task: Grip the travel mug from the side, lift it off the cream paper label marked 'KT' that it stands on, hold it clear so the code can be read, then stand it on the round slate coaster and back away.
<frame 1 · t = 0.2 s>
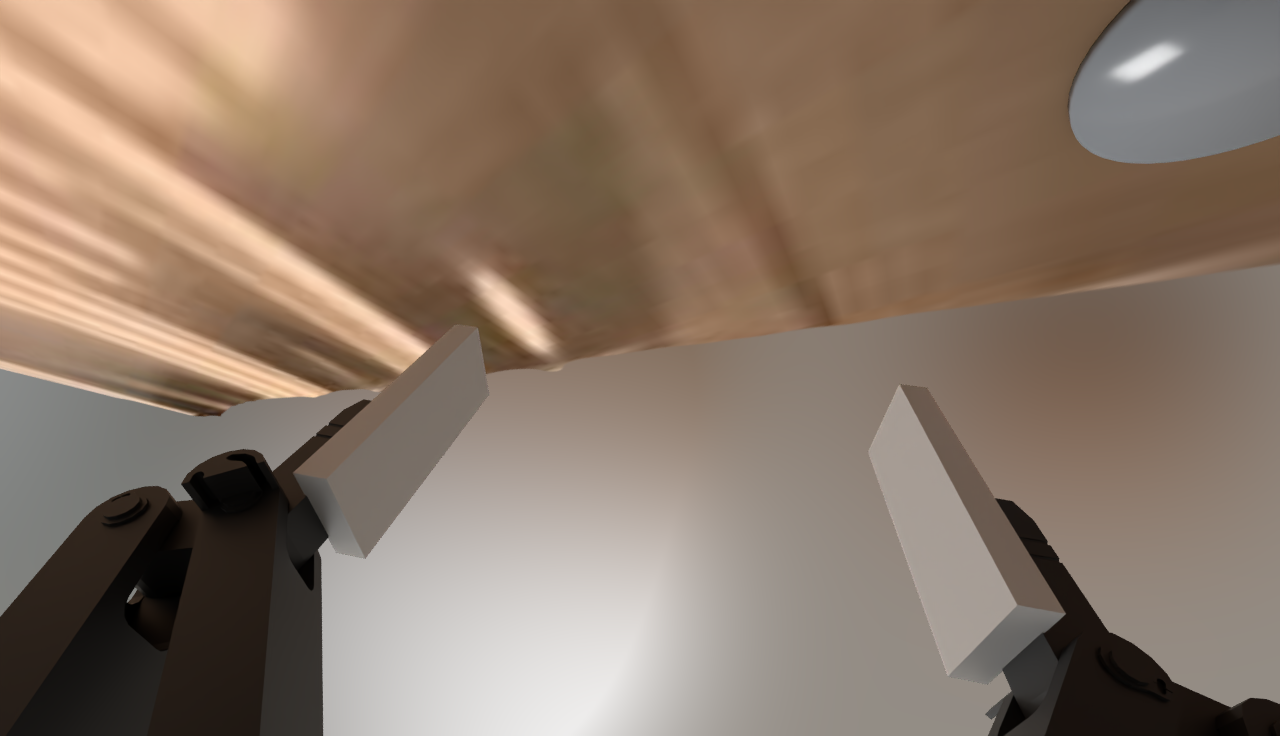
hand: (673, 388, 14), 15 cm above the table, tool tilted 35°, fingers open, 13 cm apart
slate coaster: (1265, 34, 16), on the table
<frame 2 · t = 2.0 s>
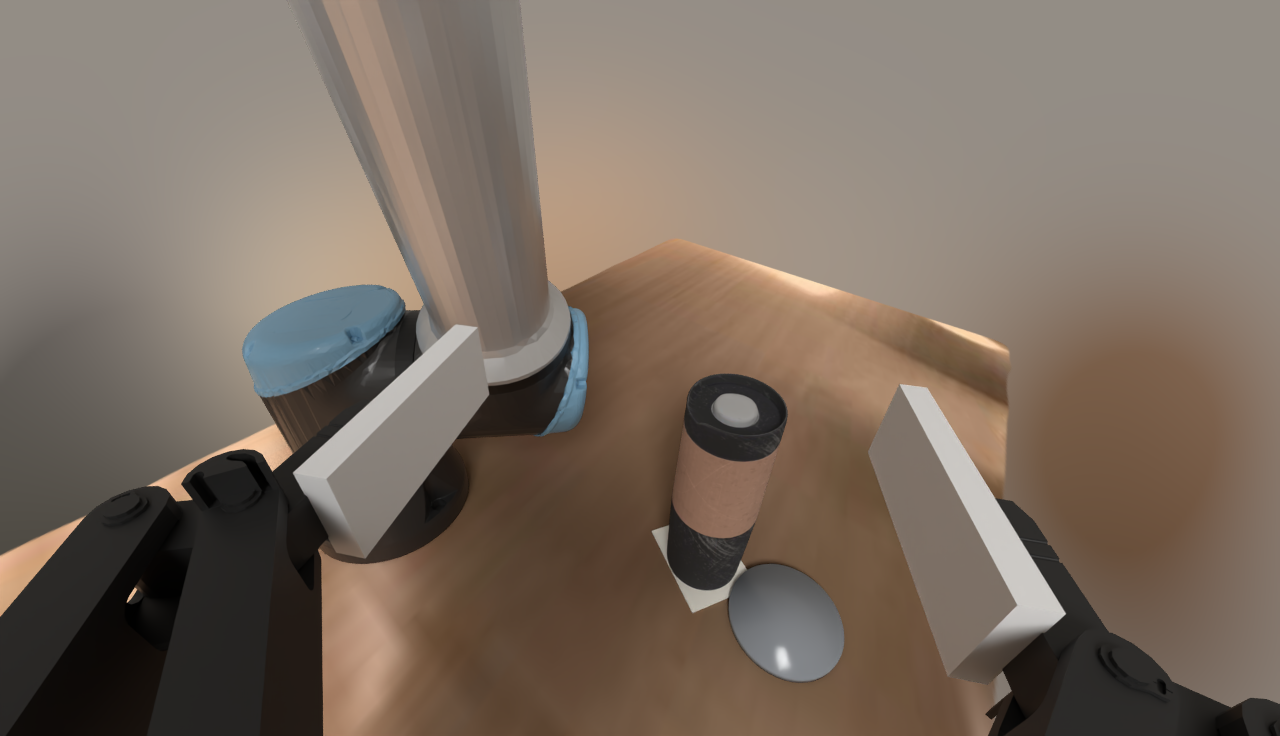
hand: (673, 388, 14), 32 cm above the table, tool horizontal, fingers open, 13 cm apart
slate coaster: (783, 619, 40), on the table
travel mug: (701, 557, 45), resting on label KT
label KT: (701, 557, 45), on the table
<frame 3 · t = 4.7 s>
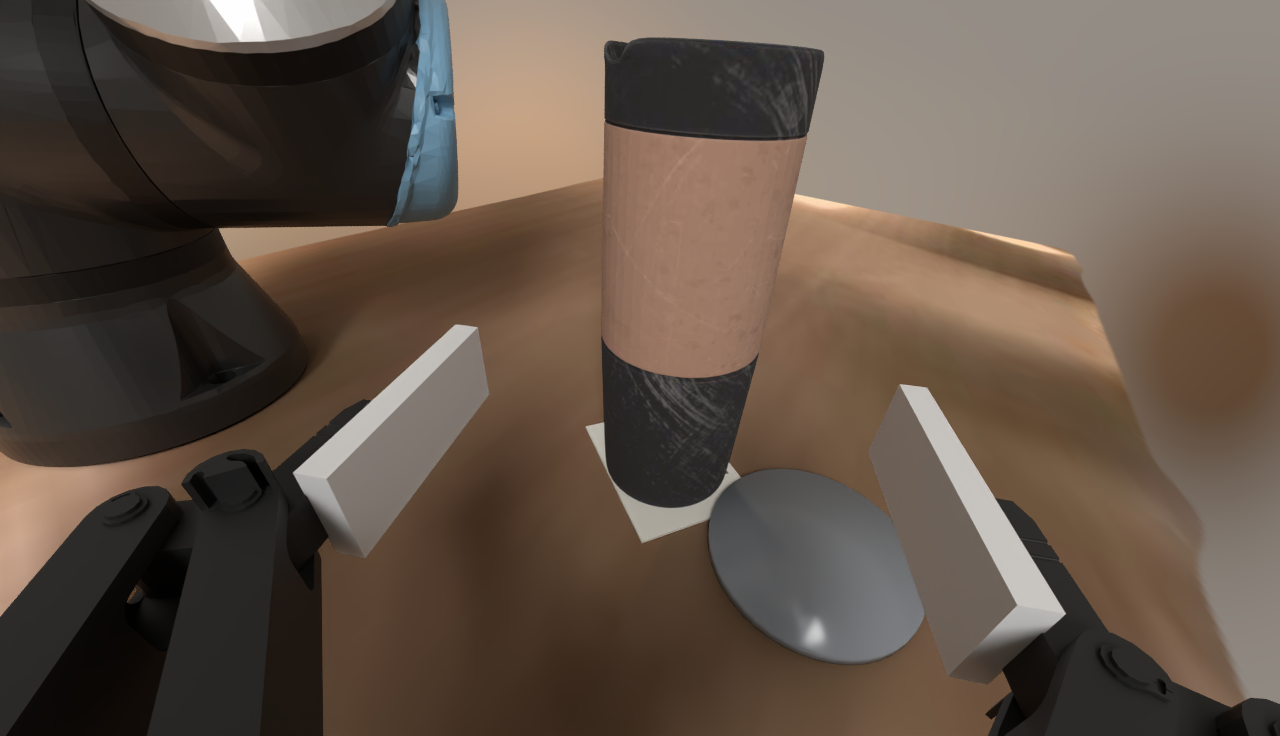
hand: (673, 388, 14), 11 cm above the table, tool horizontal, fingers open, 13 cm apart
slate coaster: (809, 552, 22), on the table
travel mug: (665, 462, 27), resting on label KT
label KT: (665, 462, 27), on the table
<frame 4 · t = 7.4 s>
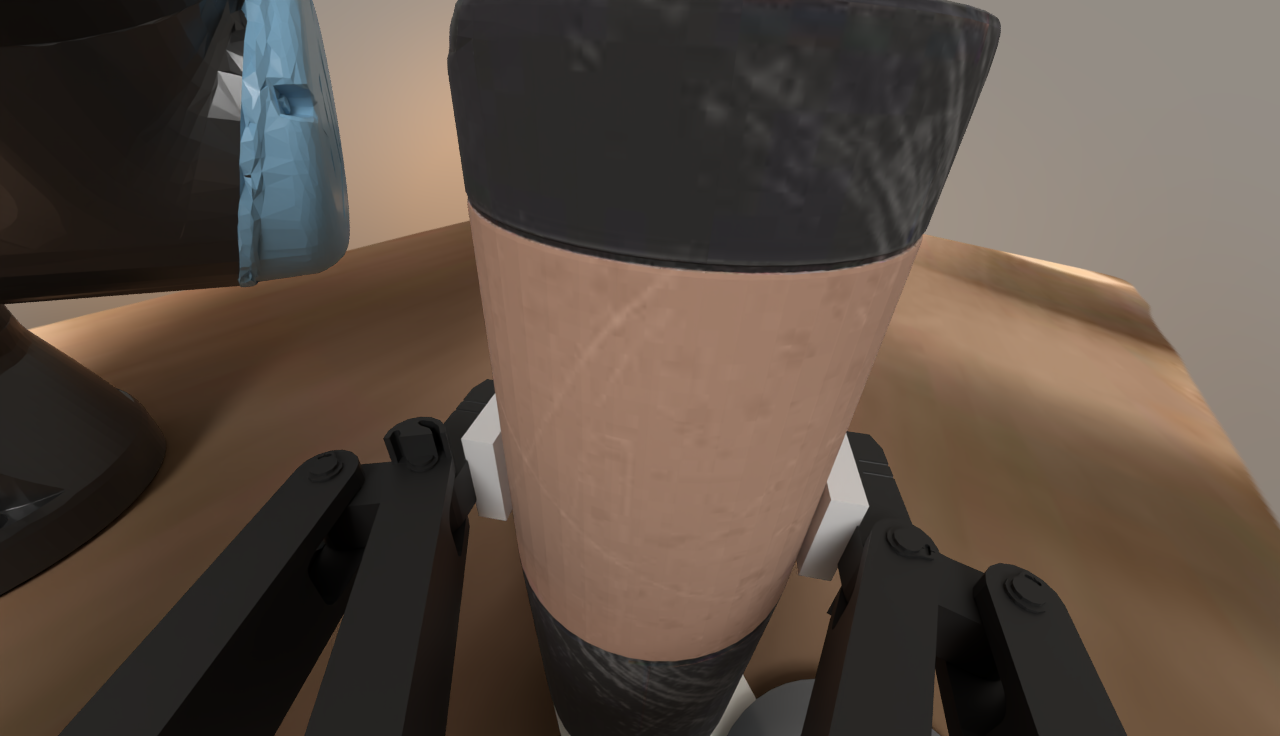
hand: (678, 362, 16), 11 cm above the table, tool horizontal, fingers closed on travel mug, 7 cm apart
travel mug: (639, 659, 18), resting on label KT, touching gripper
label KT: (639, 659, 18), on the table
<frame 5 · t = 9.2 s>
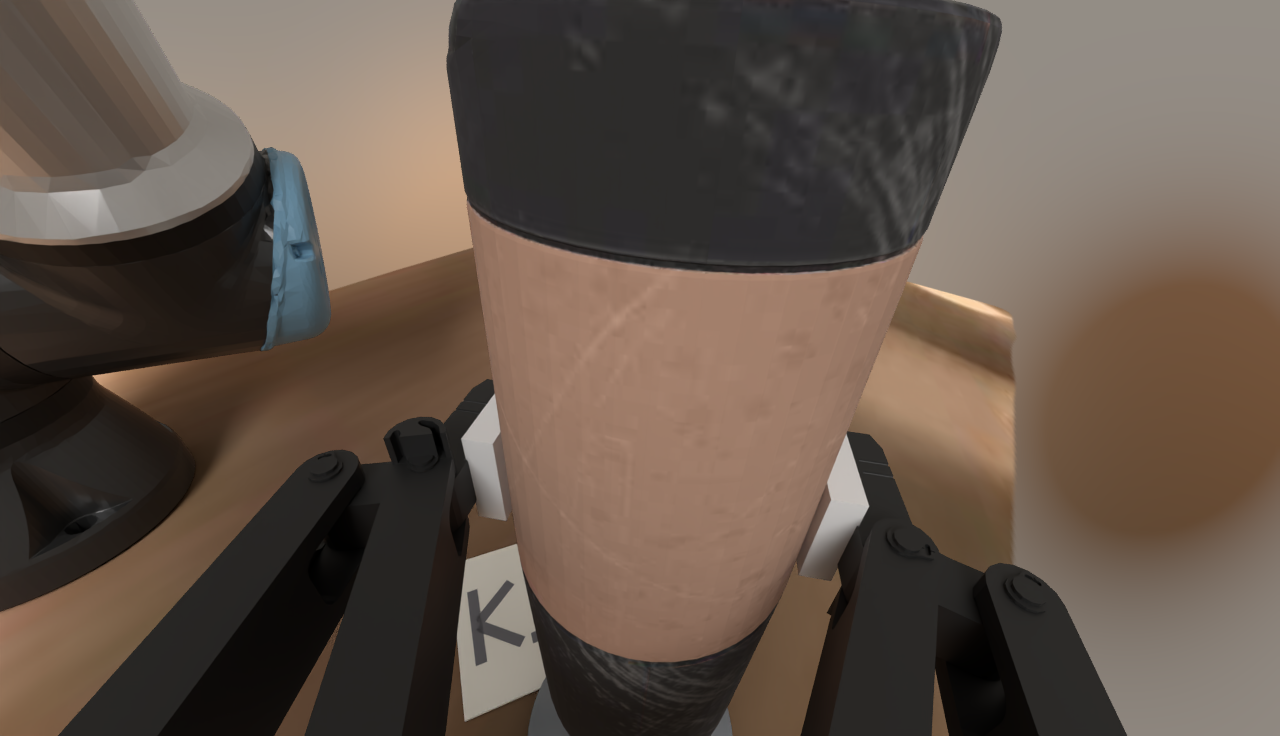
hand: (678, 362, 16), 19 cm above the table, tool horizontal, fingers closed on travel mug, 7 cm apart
slate coaster: (630, 731, 22), on the table
travel mug: (639, 660, 18), point 8 cm above the table, touching gripper
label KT: (518, 611, 27), on the table
when the fingers open (13 cm above the table, at t = 11.2 s): travel mug drops 2 cm, resting on slate coaster.
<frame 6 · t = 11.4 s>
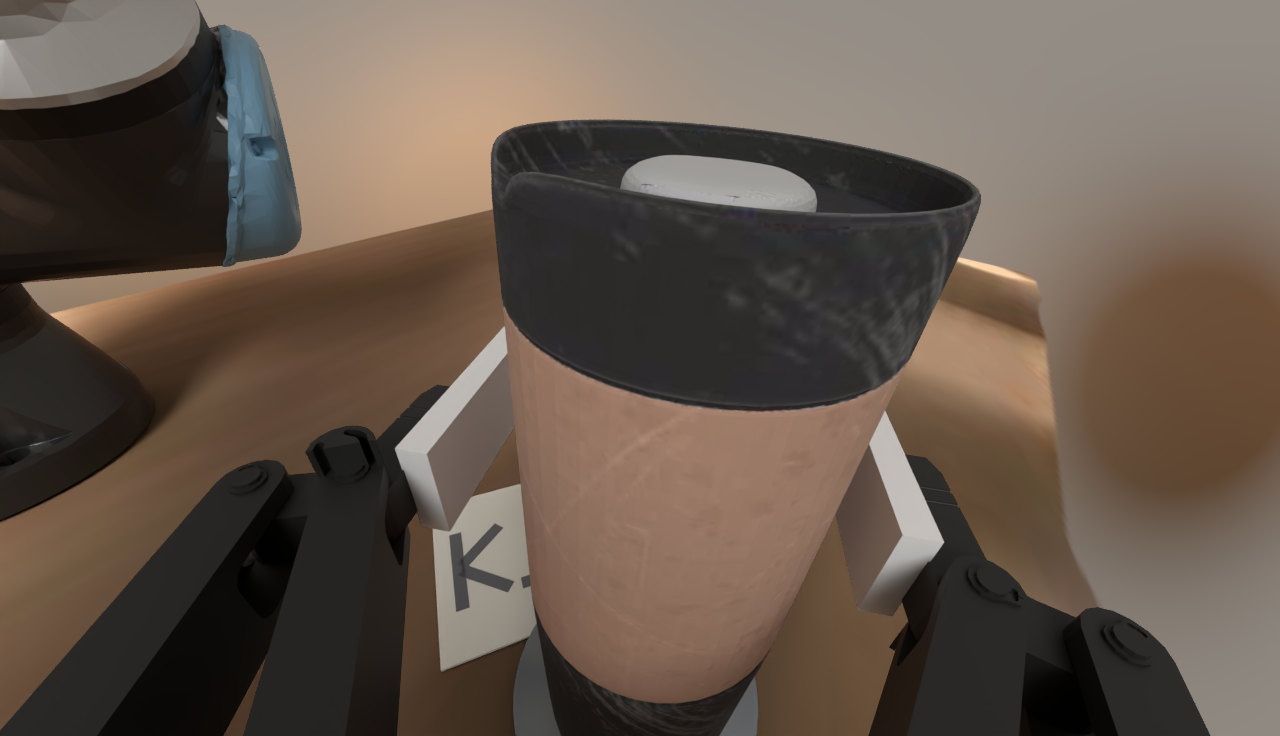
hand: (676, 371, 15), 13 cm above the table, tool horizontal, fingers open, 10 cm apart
slate coaster: (636, 683, 19), on the table
travel mug: (638, 680, 19), resting on slate coaster
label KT: (507, 555, 24), on the table
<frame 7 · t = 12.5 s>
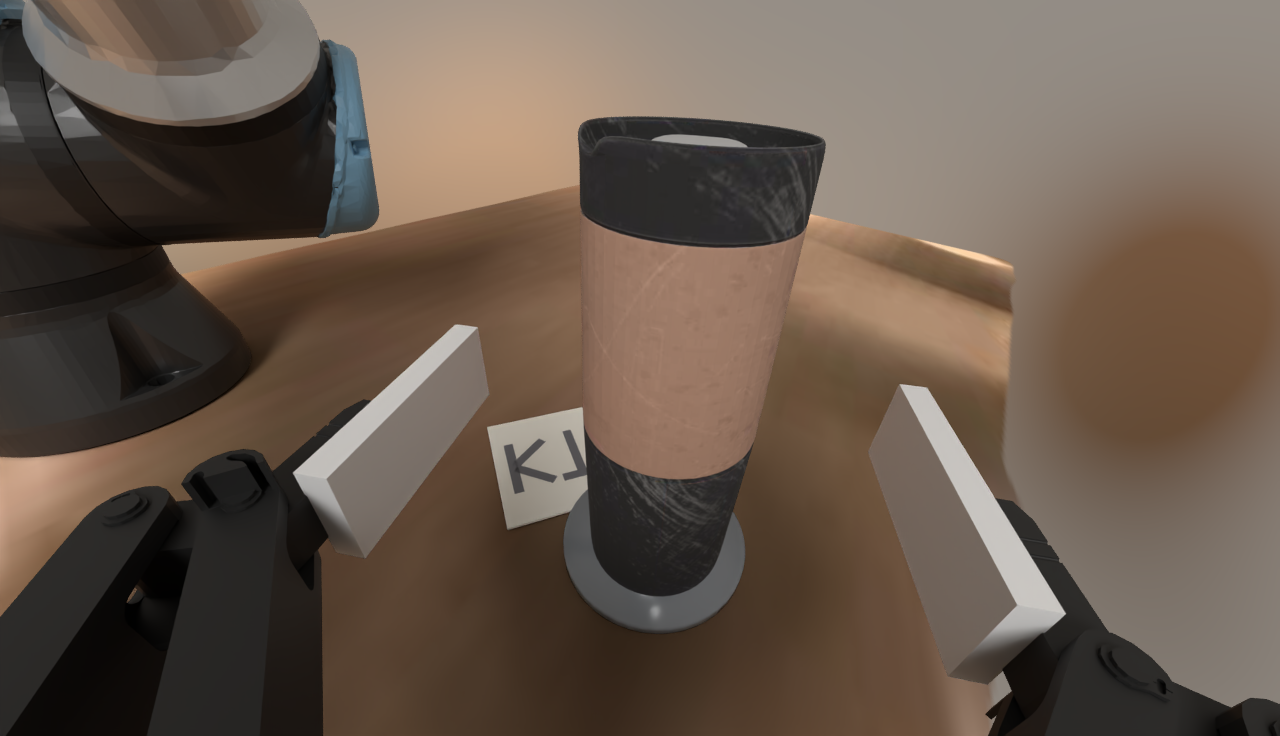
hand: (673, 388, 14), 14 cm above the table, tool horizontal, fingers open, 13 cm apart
slate coaster: (653, 540, 25), on the table
travel mug: (655, 537, 25), resting on slate coaster
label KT: (550, 460, 30), on the table
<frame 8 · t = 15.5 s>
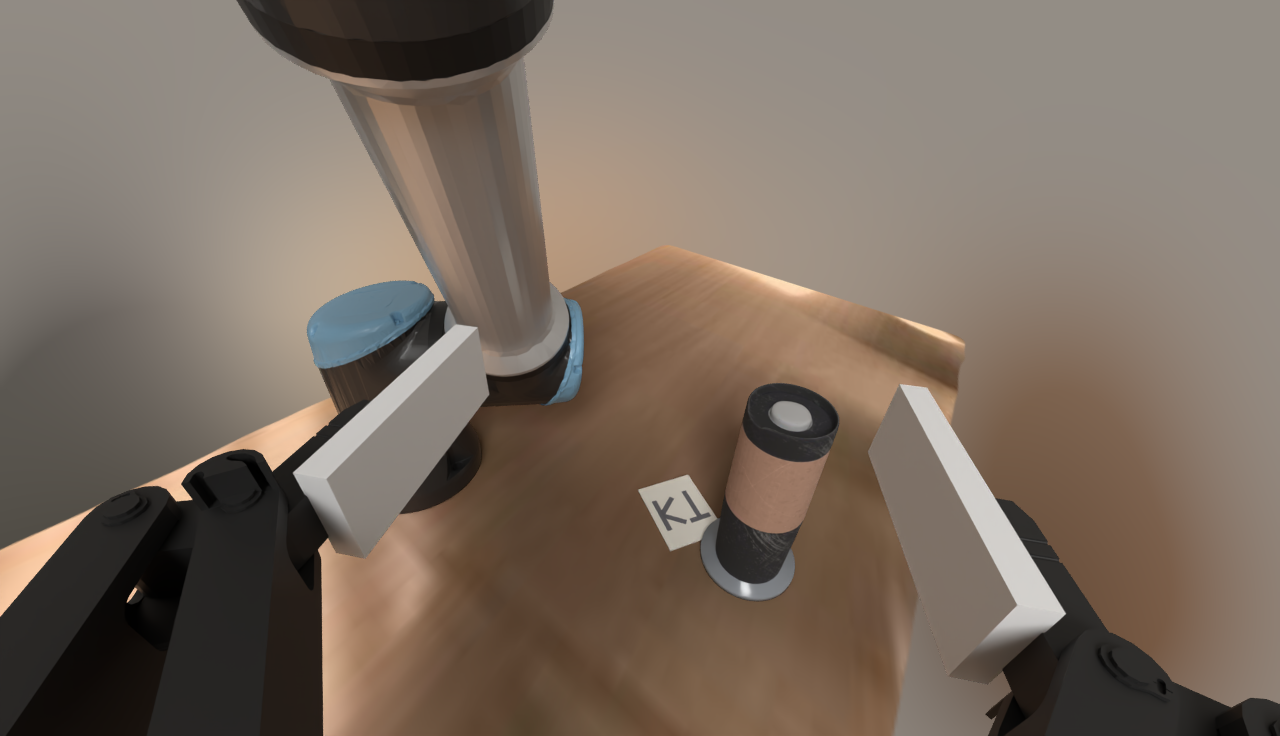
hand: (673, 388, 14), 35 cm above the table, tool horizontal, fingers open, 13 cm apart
slate coaster: (746, 555, 49), on the table
travel mug: (747, 554, 48), resting on slate coaster
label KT: (679, 510, 53), on the table
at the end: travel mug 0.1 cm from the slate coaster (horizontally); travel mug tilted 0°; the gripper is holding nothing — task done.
